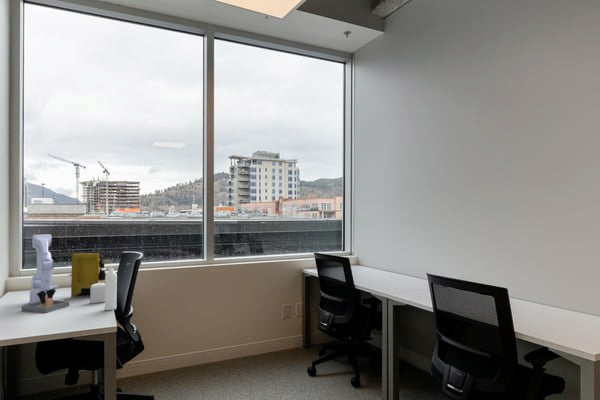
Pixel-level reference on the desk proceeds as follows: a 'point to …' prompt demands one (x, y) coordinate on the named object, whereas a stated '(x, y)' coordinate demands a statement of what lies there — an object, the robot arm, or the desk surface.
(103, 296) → the photo printer
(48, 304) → the terracotta block
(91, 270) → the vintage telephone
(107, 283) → the white spray bottle
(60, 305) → the bin
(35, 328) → the desk surface
